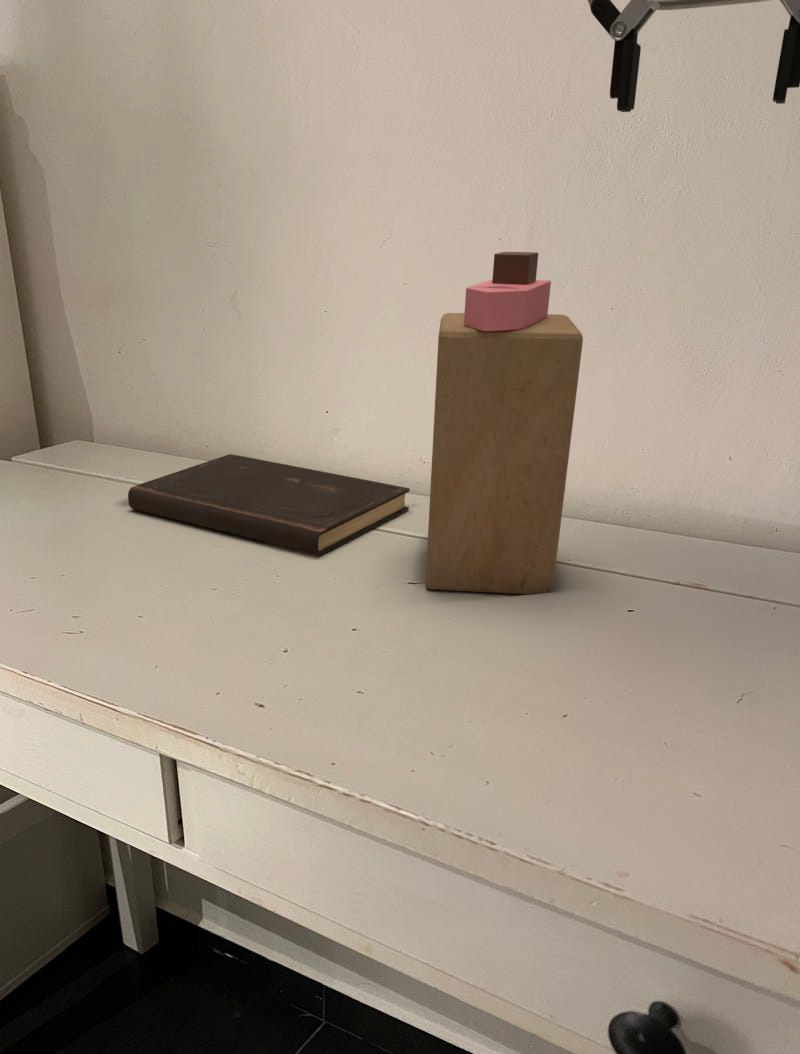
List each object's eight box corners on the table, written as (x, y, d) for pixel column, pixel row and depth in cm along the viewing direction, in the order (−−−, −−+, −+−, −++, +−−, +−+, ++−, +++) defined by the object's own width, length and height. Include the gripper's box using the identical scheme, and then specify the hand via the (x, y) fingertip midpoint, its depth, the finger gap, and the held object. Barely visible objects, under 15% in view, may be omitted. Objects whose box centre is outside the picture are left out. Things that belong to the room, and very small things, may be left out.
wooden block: (428, 547, 82) (441, 312, 73) (542, 552, 81) (569, 313, 72) (424, 591, 73) (438, 329, 64) (552, 597, 72) (584, 332, 63)
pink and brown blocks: (491, 313, 72) (496, 250, 70) (547, 316, 70) (554, 251, 68) (454, 329, 64) (458, 258, 62) (516, 333, 62) (523, 260, 60)
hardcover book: (231, 473, 103) (230, 453, 102) (408, 510, 91) (409, 488, 90) (128, 510, 91) (126, 488, 90) (317, 558, 79) (317, 533, 78)
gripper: (910, -238, 53) (843, 102, 61) (605, -184, 60) (579, 116, 67) (925, -291, 47) (848, 94, 55) (584, -224, 54) (557, 111, 61)
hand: (699, 106), depth 61 cm, fingers open, 9 cm apart
